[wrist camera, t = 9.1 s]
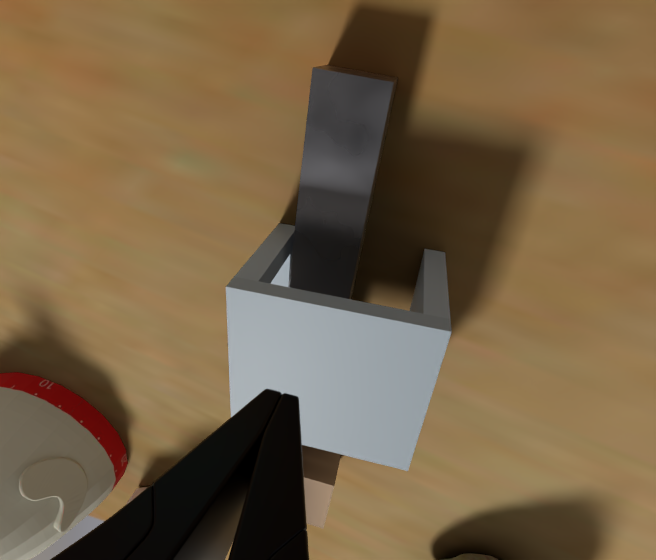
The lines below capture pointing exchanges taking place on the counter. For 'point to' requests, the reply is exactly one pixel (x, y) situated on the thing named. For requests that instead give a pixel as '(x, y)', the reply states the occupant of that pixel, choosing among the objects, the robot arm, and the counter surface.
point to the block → (318, 482)
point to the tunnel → (338, 354)
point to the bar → (338, 176)
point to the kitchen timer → (50, 463)
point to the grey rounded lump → (472, 557)
